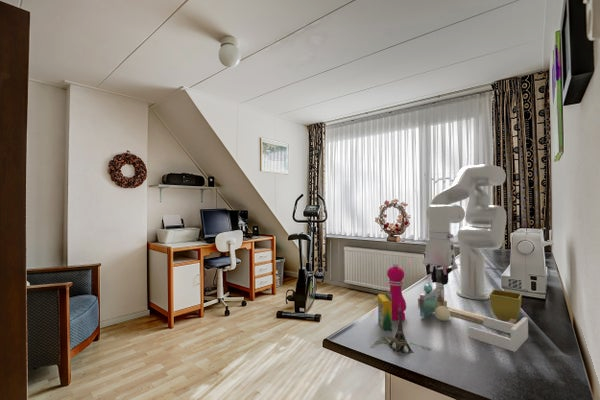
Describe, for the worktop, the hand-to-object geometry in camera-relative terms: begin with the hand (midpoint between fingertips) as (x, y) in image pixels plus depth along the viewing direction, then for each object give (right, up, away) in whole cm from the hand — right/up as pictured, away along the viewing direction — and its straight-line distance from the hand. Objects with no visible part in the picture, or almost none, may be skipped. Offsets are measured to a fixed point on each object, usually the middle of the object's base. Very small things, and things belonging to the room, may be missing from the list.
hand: (439, 282), depth 112 cm
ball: (-4, -8, -10) cm, 14 cm away
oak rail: (+5, -11, -7) cm, 13 cm away
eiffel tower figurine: (-26, -11, -30) cm, 41 cm away
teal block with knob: (-5, -10, -4) cm, 12 cm away
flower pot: (+20, -11, -9) cm, 24 cm away
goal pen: (+6, -10, -23) cm, 26 cm away
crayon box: (-26, -11, -16) cm, 32 cm away
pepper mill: (-20, -11, -8) cm, 24 cm away
